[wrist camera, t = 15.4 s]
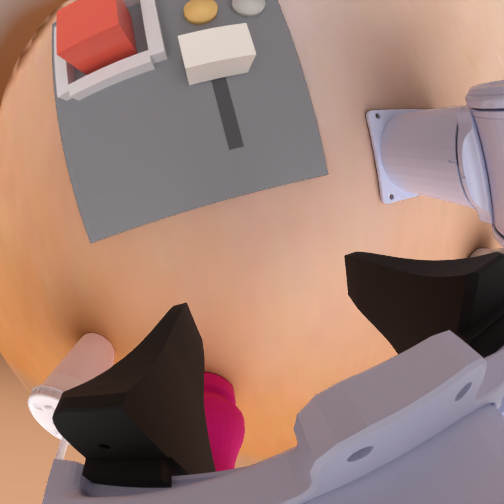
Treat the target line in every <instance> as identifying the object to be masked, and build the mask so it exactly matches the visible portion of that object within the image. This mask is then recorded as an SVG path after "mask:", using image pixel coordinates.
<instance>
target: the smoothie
mask: <svg viewBox="0 0 504 504" xmlns="http://www.w3.org/2000/svg"><path fill="white" fill-rule="evenodd" d="M114 357H115V351H114V348H113V346H112V344H111V343H110V342H109V341H108V340H107V339H106V338H105V337H103V336H101V335H99V334H96V333H87V334H85V335H83V336H82V338H81V339H80V340H79V341H78V342H77V343H76V344H75V345H74V347H73V348H72V349H71V350H70V351H69V352H68V354H67V355H66V356H65V357H64V358H63V359H62V361H61V362H60V363H59V364H58V365H57V367H56V368H55V369H54V370H53V371H52V373H51V374H50V375H49V376H48V377H47V379H46V380H45V381H44V382H43V384H42V385H40V386H36V387H35V388H33V389H32V392H31V395H30V397H29V399H28V406H29V409H30V411H31V413H32V415H33V416H34V418H35V419H36V420H37V421H38V423H39V424H40V425H41V426H42V427H43V428H45V429H46V430H47V431H48V432H49V433H51V434H52V435H54V436H55V437H57V438H59V439H60V440H61V442H60V445H59V448H58V451H57V454H56V457H55V459H62V460H63V459H64V456H65V452H66V449H67V445H68V444H70V443H69V442H67V441H66V440H65V439H64V438H63V437H62V435H61V434H60V433H59V432H58V431H57V429H56V427H55V425H54V424H53V419H52V417H53V414H54V411H55V409H56V407H57V404H58V402H59V400H60V397H61V395H62V393H63V392H64V391H67V390H69V389H71V388H74V387H76V386H78V385H81V384H83V383H85V382H87V381H89V380H91V379H93V378H94V377H96V376H98V375H100V374H101V373H103V372H105V371H106V370H108V369H109V368H111V367H112V366H113V362H114Z"/></svg>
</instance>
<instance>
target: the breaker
mask: <svg viewBox="0 0 504 504" xmlns="http://www.w3.org/2000/svg"><path fill="white" fill-rule="evenodd" d="M178 40H179V44H180V49H181V54H182V58H183V62H184V66H185V70H186V75H187V79H188V83H189V85H193V84H197V83H201V82H205V81H209V80H213V79H218V78H222V77H227V76H232V75H237V74H243V73H248V71H249V69H250V67H251V65H252V62H253V60H254V58H255V56H256V51H255V48H254V45H253V42H252V39H251V35H250V32H249V29H248V26H247V23H241V24H234V25H227V26H221V27H215V28H210V29H205V30H200V31H196V32H191V33H187V34H183V35H179V36H178Z"/></svg>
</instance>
